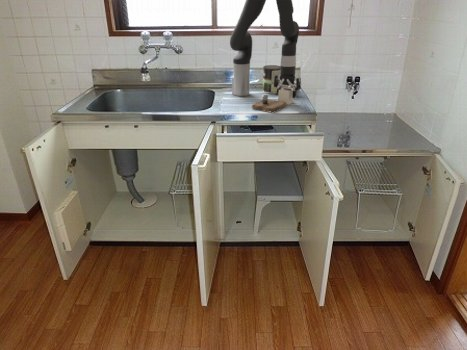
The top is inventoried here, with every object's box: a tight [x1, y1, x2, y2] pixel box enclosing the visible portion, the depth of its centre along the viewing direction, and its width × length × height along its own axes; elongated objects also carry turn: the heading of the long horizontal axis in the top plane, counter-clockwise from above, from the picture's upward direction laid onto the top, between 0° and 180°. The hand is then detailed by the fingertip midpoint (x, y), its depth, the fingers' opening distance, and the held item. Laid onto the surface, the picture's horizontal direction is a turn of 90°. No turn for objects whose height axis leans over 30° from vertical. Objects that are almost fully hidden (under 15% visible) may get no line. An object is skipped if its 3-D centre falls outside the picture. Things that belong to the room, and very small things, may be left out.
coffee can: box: [262, 64, 281, 95], centre depth 200 cm, size 10×10×14 cm
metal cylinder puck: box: [261, 94, 269, 104], centre depth 174 cm, size 3×3×4 cm
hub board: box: [251, 98, 287, 113], centre depth 175 cm, size 12×13×2 cm
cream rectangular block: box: [277, 88, 295, 106], centre depth 180 cm, size 6×6×8 cm
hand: (286, 96), depth 180 cm, fingers open, 8 cm apart
